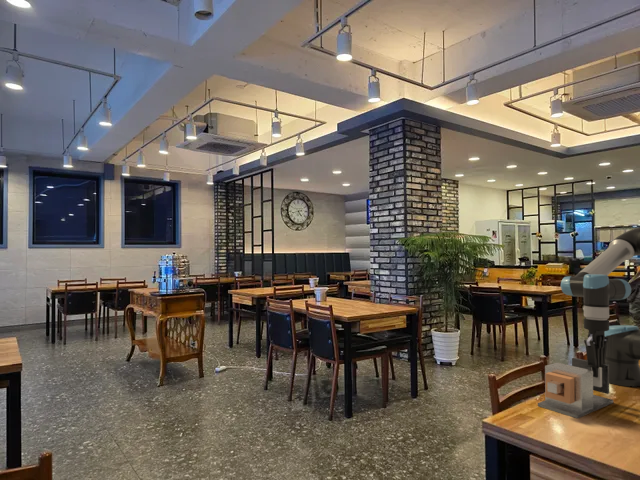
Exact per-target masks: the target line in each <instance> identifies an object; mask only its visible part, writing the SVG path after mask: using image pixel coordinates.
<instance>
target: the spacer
mask: <svg viewBox="0 0 640 480" xmlns="http://www.w3.org/2000/svg"><path fill="white" fill-rule="evenodd" d="M550 381H557V382H561V383H564V394H563V393H558V394H555V393H552V392H548V386H547V382H550ZM546 397H548V398H551V399H555V400H558V401H562V402H565V403H568V404H571V403H574V402H575V384H574V378H573V377H569V376H565V375H560V374H556V373H552V372H549V373H546Z"/></svg>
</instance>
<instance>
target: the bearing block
mask: <svg viewBox="0 0 640 480" xmlns="http://www.w3.org/2000/svg"><path fill="white" fill-rule="evenodd" d="M549 372H552V373H556V374H560V375H565V376H569V377H573V378H574V384H575V402H574V403H571V404H568V403H565V402H562V401H558V400H555V399H551V398H548V397H546V373H549ZM544 373H545V374H544V384H545V385H544V387H545V389H544V390H545V391H544V392H545V393H544V397H545V398H544V400H542V401H540V402H537V407H540V408H543V409H546V410H549V411H552V412H555V413H559V414H561V415H565V416H568V417H571V418H575V419H580V418H583V417H584V416H587V415H588V414H589V415H590V414H591V413H593V412H595V411H598V410H600V409H603V408H604V407H607V406H609V405H612V404H614V399H611V398H607V397H604V396H599V395H595V394H594V390H593V370H588V369H584V368H579V367H575V366H572V365H569V364H564V363H560V362H555V363H551V364H547V365H544ZM561 393H563V394H564V391H563V392H561Z"/></svg>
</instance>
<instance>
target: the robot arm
mask: <svg viewBox="0 0 640 480" xmlns="http://www.w3.org/2000/svg"><path fill="white" fill-rule="evenodd" d="M635 256H636V257H637V256H640V227H637V228H636V227H635V228H633V229H630V230H628V231H625V232H624V233H622V234H620V235H618V236H617V237H615V238H613V240H611V241H610V242H609V245H608V247H607V248H606V249H605V250H604V251H603V252H601V253H600V254H598V256H597V257H596V258H594V259H593V260H592V261H591V262H589V264H587V265H586V266H585V267H584V268H583V269H581V270H580V271H579V272H578V273H577V274H576V275H574V276H573V275H569V276H564V277H563V278H562V280H561V282H560V289H561V292H562V293H563V294H564V295H566V296H571V297H580V298H583V307H582V310H583V316H584V318H583V328H584V329H585V330H587V331H588V332H587V333H588V334H587V339H586V338H585V339H584V341H583V342H584V346H585V351H586V353H585V354H586V360H587V361H588V366H589V367H591V370H593V386H597V387H602V368H601V367H603V368H605V366H604V365H605V364H606V365H609V384H613V385H616V386H622V387H630V386H632V387H633V388H638V387H637V386H640V329H639V326H638V325H628V324H626V325H625V324H624V325H620V324H619V325H610V320H609V318H610V301H621V300H625V299H627V298H628V297H630V295H631V293H632V287H631V285H630V283H629V282H628V281H627V280H625V279H622V278H609V275H610V274H611V273H612V272H614V271H615V270H616V269H617V267H619V266H620V265H621V264H622V263H623V262H624V261H628V260H630V259H632V258H633V257H635Z"/></svg>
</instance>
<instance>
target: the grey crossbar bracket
mask: <svg viewBox="0 0 640 480" xmlns="http://www.w3.org/2000/svg"><path fill="white" fill-rule="evenodd" d="M571 366H575V367H579V368H584V369H588V370H591V367H589V366H588V361H587V359H581V358H577V357H572V358H571ZM604 366H605V368H603V367H601V368H602V387H597V386H593V392H594V391H595V392H598V393H602V394H607V395H609V394H610V383H609V365H606V364H605V365H604ZM547 386H548V392H552V393H555V394H558V393H561V392H563V391H564V383H561V382H557V381H550V382H547Z"/></svg>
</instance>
